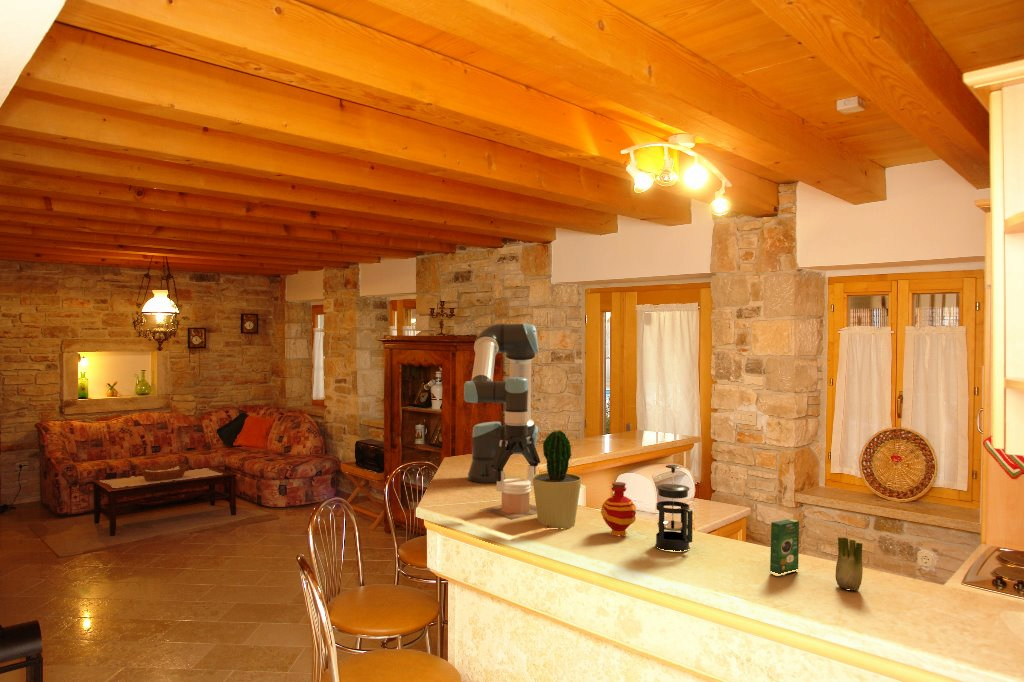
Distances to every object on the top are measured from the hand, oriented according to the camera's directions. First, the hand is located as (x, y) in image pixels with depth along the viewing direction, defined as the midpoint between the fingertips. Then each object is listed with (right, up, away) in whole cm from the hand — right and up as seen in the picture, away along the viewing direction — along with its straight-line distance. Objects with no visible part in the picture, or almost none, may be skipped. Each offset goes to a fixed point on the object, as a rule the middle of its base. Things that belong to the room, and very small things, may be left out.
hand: (515, 488), depth 225 cm
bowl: (0, -7, 0) cm, 7 cm away
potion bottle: (+31, -9, -22) cm, 39 cm away
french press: (+44, -9, -36) cm, 57 cm away
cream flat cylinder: (0, -1, 0) cm, 1 cm away
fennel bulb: (+78, -10, -66) cm, 102 cm away
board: (0, -8, 0) cm, 8 cm away
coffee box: (+67, -9, -56) cm, 87 cm away
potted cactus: (+13, -9, -13) cm, 20 cm away
